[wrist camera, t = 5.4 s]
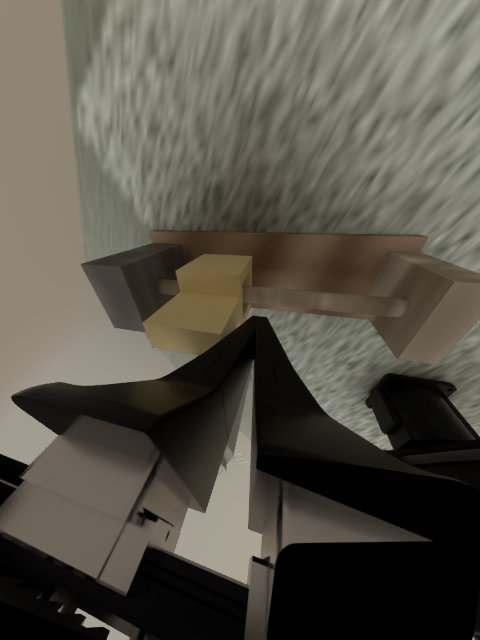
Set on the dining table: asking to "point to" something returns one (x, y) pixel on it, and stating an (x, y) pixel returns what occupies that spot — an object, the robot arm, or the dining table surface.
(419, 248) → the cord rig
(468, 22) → the dining table surface
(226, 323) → the marker sleeve
